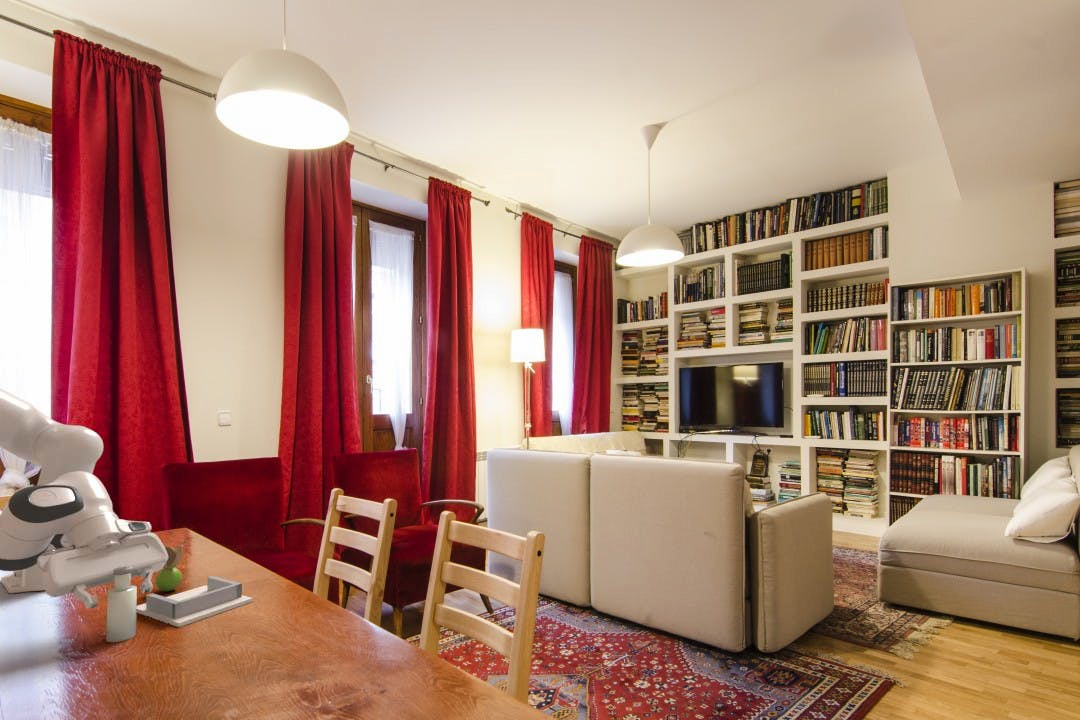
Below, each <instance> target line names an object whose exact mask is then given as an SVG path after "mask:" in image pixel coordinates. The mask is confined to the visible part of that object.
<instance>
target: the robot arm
mask: <svg viewBox="0 0 1080 720" xmlns="http://www.w3.org/2000/svg"><path fill="white" fill-rule="evenodd" d="M0 448H1V449H3V450H4V451H7V452H9V453H10V454H13V456H16V457H18V458H20V459H22V460H24V461H26V462H28V463H30V464H32V465H34V466H37V467H40V473H39V477H38V481H37V484H36V485H31V486H27V487H24V488H21V489H19V490H18V491H16V492H15V493H14V494H12V496H11V497H10V499H8V501H7V502H6V504H5V506H4V508H3V509H2V510H1V509H0V571H3V572H12V573H9V574H6V575H3V576H2V577H0V583H1V584H2V586H3V587H4V588H5V589H6V591H7V593H9V594H16V593H25V592H36V591H45V593H46V595H47V596H49V597H51V598H57V597H60V596H62V597H63V596H65V595H69V594H72V596H73V598H75V599H76V600H78V601H80V602H81V603H83V604H84V606H85V609H86V610H90V609H93V608H97V607H98V605H99V603H100V600H99V599H98V595H97V594H93V595H92V594H90V593H89V592H88V591H86V590H89V589H92V588H96V587H100V586H101V587H102V586H104V585H108V584H111V583H114V578H115V575H113V570H114V569H115V568H119V567H124V566H132V572H131V579H133V578H136V577H139V576H140V577H141V579H144V581H142V582H141V584H140V586H139V589H140V591H141V594H142V595H143V594H144V595H145V594H147V593H150V592H151V593H152V591H153V588H154V585H153V583H152V579H153V574H154V573H155V572H160V571H161V570H163V569H164V568H163V567H164V565H165V564H166V562H167V560H168V553H167V551H166V549H165V547H166V546H165V545H164V543H163V542H162V541H161V539H160V537H158V535H157V534H155V533H153V532H151V531H152V524H151V523H150V522H148V521H137V520H136V521H135V520H126V519H120V518H119V516H118V515H117V514H116V513H115V512H114V510H113V502H112V500H111V498H110V495H109V493H108V491H107V488H106V487H105V486H104V483H102V481H101V480H100V479H99V478H98V477H97V476H96V475H94V474H93V473H94V470H95V466H96V463H97V461H98V460H99V459H100V458H101V456H102V455H103V452H104V442H103V439H102V438H101V436H100V435H99V434H98V433H97V432H95V431H94V430H92V429H90V428H88V427H86V426H84V425H83V426H82V425H76V424H75V425H74V424H73V425H72V424H71V425H70V424H63V423H61V422H58V421H56V420H54V419H52V418H51V417H48V416H47V415H46V414H44V413H43V412H42V411H40V410H38V409H37V407H34V406H33V405H32V403H29V402H27V401H25V400H23V399H22V398H20V397H18V396H16V395H14V394H12V393H10V392H9V391H6V390H4V389H2V388H0Z"/></svg>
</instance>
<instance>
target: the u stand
mask: <svg viewBox="0 0 1080 720" xmlns="http://www.w3.org/2000/svg"><path fill="white" fill-rule="evenodd" d="M242 588H243V583H241V582H239V581H233V580H230V579H226V578H222V577H218V576H215V575H212V576H211V575H210V576H209V577H207V584H206V585H203V586H199V587H195V588H193V589H189V590H185V591H181V592H178V593H176V594H171V595H169V596H166V597H165V596H163V595H159V594H156V593H153V592H151V593H149V594H145V595H146V598H145V599H146V602H145V603H142V604H139V605H136V614H140V615H142V616H145V617H148V616H149V617H148V618H151V617H152V619H154V620H156V621H159V620H160V621H159V622H162V621H163V622H162V623H165V624H168V623H169V625H172V626H174V627H176V628H181V627H184V626H187V625H189V624H191V623H195V622H198V621H201V620H204V619H207V618H210V617H212V616H215V615H218V614H221V613H224V612H227V611H230V610H232V609H236V608H238V607H242V606H244V605H246V604H247V605H248V604H250V603H253V602H254V601H253V599H254V598H253V597H250V596H246V595H242V594H243V589H242Z"/></svg>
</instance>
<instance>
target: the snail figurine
mask: <svg viewBox="0 0 1080 720" xmlns="http://www.w3.org/2000/svg"><path fill="white" fill-rule="evenodd" d="M184 542H185V540H184V539H181V540H179V545H177V546H176V549H175V548H174V547H173V546H171V545H170V546H169V545H167V546H164V547H165V549H166V551H167V553H168V560H167V562H166V564H165V565H164V567H163V568H162V569H161V570H159V571H158V573H157V574H156V576H155V580H154V585H155V587H156V588H157V589H158V590H159V591H162V592H165V593H166V592H171V591H173V590H175V589H177V588H178V587H179V586H180V584H181V583H182V580H183V576H182V575H183V574H182V572H181V570H179V569H178V568H177V567H178V565H179V564H180V562H181V559H182V555H183V550H184V544H182V543H184Z"/></svg>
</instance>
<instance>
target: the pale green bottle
mask: <svg viewBox="0 0 1080 720" xmlns="http://www.w3.org/2000/svg"><path fill="white" fill-rule="evenodd" d="M131 572H132V566H124V567H119V568H115V569H114V570H113V575H115V578H114V582H113V583H114V584H113V585H114V588H111V589H109V590H108V591H107V611H106V612H107V613H106V614H107V615H106V642H107V643H119V642H124V641H127V640H131V639H132V638H135V636H137V612H136V606H138V605H137V601H138V599H137V593H138V587H137V586H136V585H131V584H132V583H131V582H132V578H131Z"/></svg>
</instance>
